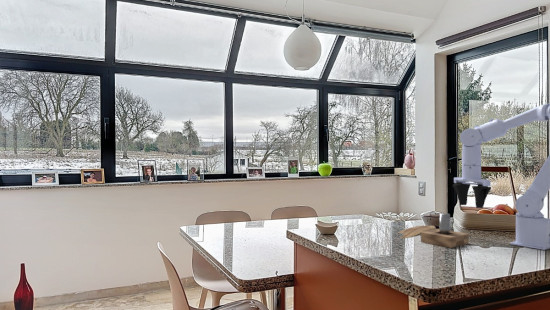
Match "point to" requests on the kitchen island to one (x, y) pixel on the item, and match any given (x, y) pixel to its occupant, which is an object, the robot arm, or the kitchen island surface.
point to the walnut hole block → (445, 238)
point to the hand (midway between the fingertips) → (471, 206)
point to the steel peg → (444, 223)
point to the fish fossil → (416, 231)
